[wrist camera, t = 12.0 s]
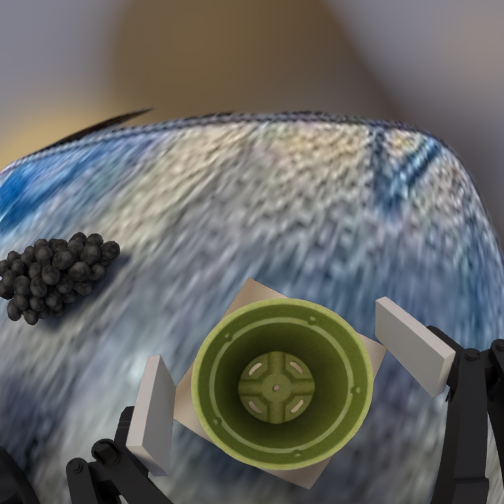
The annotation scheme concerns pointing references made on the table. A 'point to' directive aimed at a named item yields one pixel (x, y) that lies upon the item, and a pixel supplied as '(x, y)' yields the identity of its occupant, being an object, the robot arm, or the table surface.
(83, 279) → the fruit
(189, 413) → the ash board
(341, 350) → the plant pot
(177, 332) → the table surface
